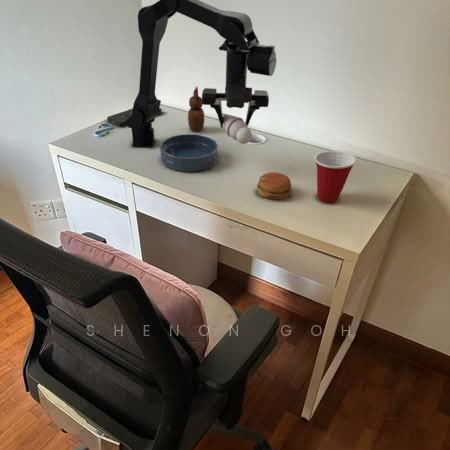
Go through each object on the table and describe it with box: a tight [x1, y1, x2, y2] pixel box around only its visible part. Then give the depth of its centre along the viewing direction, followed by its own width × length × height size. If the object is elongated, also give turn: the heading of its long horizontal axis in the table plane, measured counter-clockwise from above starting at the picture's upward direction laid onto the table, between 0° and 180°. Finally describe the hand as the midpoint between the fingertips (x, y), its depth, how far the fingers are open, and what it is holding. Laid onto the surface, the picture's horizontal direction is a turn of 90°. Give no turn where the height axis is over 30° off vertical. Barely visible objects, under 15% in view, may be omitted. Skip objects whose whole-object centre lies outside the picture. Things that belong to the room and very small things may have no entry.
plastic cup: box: [314, 150, 357, 204], centre depth 114 cm, size 11×11×12 cm
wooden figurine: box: [187, 86, 205, 133], centre depth 145 cm, size 7×6×15 cm
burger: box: [256, 171, 292, 200], centre depth 118 cm, size 10×9×5 cm
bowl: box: [159, 133, 219, 172], centre depth 132 cm, size 18×18×4 cm
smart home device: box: [106, 108, 162, 128], centre depth 157 cm, size 8×2×20 cm
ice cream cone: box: [222, 112, 253, 145], centre depth 123 cm, size 6×6×15 cm
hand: (233, 128), depth 124 cm, fingers closed on ice cream cone, 7 cm apart
